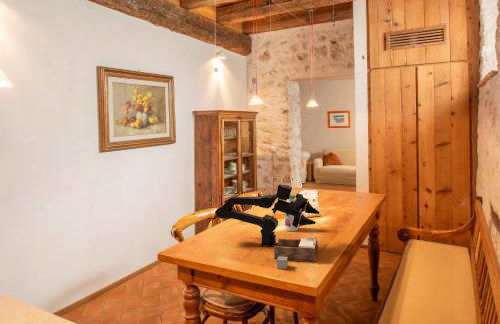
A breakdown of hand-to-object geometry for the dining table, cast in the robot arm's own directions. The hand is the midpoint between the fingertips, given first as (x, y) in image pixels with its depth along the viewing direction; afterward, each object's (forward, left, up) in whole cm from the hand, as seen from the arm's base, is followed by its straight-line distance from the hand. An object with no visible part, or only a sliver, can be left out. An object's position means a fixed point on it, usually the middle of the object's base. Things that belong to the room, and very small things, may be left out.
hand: (317, 217), depth 180 cm
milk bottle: (-17, +27, -15) cm, 35 cm away
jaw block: (-13, -26, -15) cm, 33 cm away
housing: (-9, -12, -15) cm, 21 cm away
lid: (-3, -12, -9) cm, 15 cm away
